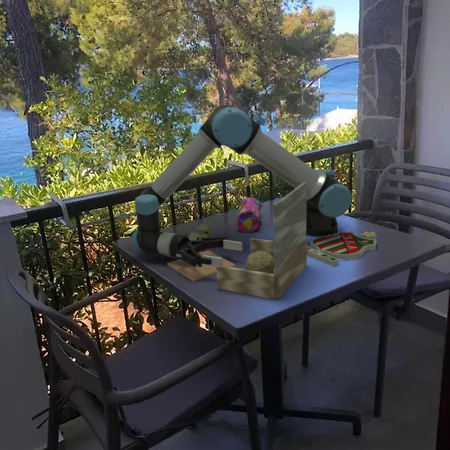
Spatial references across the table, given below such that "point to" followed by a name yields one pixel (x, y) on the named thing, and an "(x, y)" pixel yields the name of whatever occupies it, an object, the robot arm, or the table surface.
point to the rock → (201, 232)
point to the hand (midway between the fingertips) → (232, 254)
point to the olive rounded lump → (260, 262)
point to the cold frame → (274, 252)
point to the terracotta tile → (197, 272)
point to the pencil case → (249, 215)
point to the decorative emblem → (341, 246)
